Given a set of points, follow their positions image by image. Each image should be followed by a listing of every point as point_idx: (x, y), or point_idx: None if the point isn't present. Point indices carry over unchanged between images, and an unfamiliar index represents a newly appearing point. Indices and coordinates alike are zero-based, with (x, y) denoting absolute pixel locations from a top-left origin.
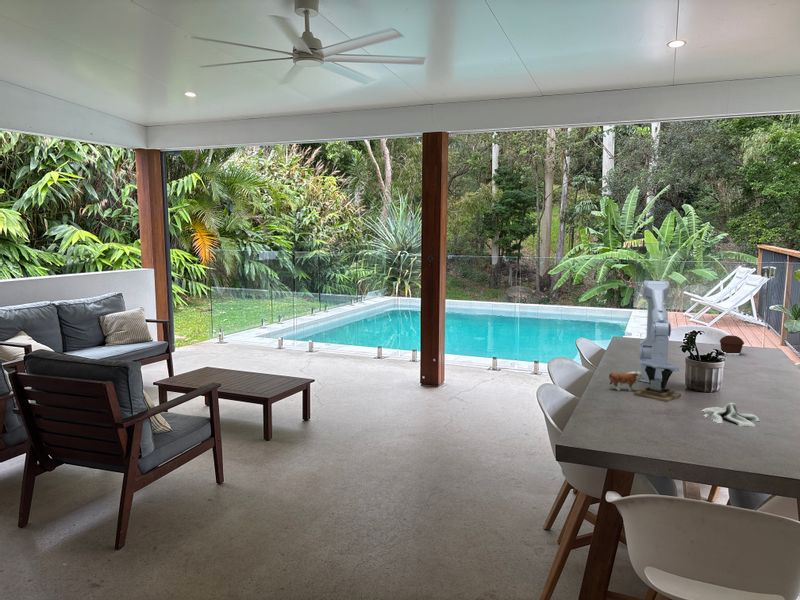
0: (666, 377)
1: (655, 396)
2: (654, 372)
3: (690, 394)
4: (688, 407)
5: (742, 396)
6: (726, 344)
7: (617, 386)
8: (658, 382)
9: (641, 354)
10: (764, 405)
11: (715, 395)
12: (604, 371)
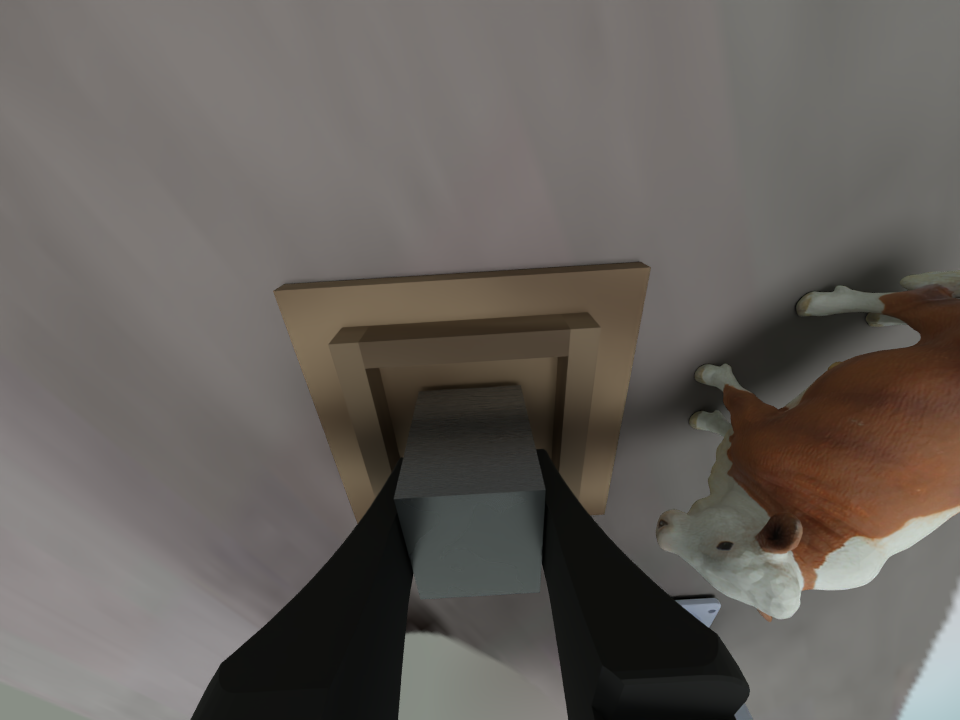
0: (302, 592)
1: (425, 317)
2: (563, 663)
3: None
4: (36, 254)
5: (204, 667)
6: None
7: (874, 304)
8: (430, 481)
9: None
10: (16, 626)
11: None
12: (919, 625)
